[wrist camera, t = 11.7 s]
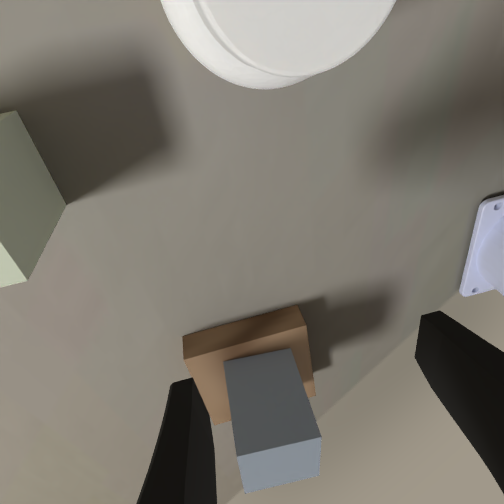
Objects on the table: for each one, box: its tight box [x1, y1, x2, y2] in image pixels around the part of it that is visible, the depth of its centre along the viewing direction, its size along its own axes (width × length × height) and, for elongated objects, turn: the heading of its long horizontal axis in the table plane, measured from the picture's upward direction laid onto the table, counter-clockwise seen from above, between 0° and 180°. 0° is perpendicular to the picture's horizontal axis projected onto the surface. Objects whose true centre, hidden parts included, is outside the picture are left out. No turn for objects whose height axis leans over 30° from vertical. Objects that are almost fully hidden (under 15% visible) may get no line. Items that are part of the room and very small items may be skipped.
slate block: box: [223, 348, 321, 493], centre depth 22 cm, size 4×4×6 cm
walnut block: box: [183, 305, 316, 425], centre depth 26 cm, size 8×8×2 cm
